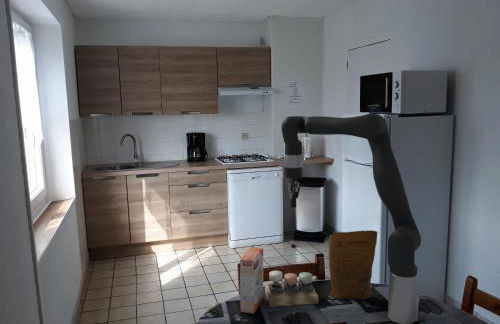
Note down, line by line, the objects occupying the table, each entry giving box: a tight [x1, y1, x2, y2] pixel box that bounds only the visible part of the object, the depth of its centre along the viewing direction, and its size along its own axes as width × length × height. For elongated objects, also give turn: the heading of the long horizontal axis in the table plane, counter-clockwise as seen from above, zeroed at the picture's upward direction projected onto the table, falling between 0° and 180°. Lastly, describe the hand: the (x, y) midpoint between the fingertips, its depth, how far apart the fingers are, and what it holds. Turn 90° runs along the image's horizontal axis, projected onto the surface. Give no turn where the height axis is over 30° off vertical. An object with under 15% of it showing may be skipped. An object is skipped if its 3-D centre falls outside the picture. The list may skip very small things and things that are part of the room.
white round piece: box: [268, 270, 284, 286], centre depth 162 cm, size 5×5×5 cm
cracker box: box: [239, 247, 264, 315], centre depth 157 cm, size 14×6×21 cm, turn 164°
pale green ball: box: [298, 271, 313, 286], centre depth 164 cm, size 5×5×5 cm
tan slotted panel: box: [264, 281, 319, 307], centre depth 163 cm, size 19×13×5 cm
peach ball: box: [283, 272, 298, 287], centre depth 163 cm, size 5×5×5 cm
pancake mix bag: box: [328, 230, 378, 300], centre depth 161 cm, size 7×19×28 cm, turn 86°
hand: (293, 207), depth 168 cm, fingers closed
